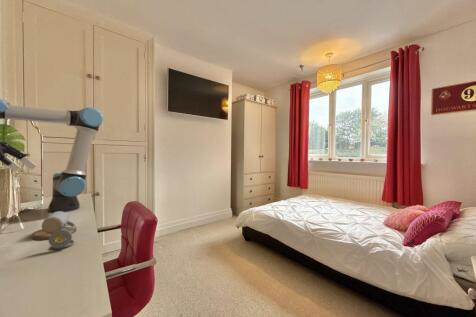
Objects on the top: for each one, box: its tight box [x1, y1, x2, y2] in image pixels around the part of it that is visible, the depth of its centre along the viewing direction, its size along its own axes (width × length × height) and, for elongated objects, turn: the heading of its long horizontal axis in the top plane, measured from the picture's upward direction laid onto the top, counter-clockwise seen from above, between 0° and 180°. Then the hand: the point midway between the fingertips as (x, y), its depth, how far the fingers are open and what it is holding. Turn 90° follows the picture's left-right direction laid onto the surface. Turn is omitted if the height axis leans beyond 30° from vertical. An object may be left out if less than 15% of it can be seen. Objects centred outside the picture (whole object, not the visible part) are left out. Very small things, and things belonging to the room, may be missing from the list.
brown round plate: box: [30, 225, 78, 241], centre depth 89 cm, size 15×15×1 cm
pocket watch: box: [48, 223, 75, 250], centre depth 76 cm, size 8×8×10 cm
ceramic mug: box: [41, 211, 76, 233], centre depth 90 cm, size 11×8×8 cm
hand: (26, 168), depth 96 cm, fingers open, 13 cm apart
